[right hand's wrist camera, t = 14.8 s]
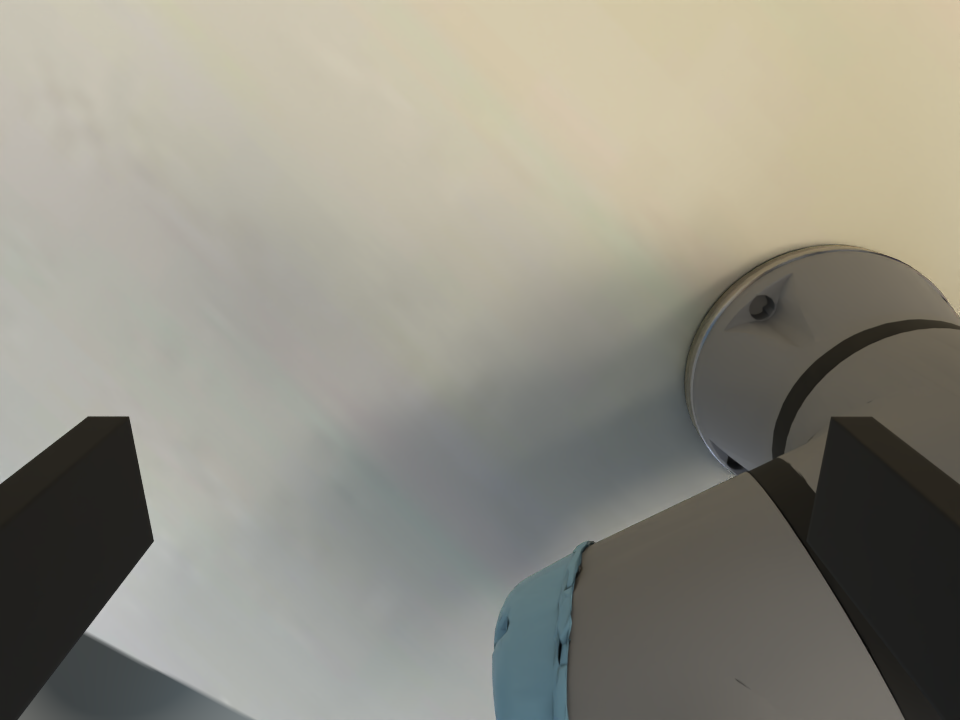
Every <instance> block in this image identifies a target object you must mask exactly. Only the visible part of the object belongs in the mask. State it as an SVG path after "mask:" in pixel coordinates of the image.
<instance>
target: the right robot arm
mask: <svg viewBox="0 0 960 720" xmlns="http://www.w3.org/2000/svg"><path fill="white" fill-rule="evenodd" d="M685 396H686V402H687V407H688V411H689V414H690V417H691V420H692V422H693V425H694V427H695V428H696V430H697V432H698V434H699V435H700V437H701V438H702V440H703V441H704V443H705V444H706V446H707V447H708V449H709V450H710V451H711V453H712V454H713V455H714V456H715V457H716V459H717V460H718V461H719V462H720V463H721V464H722V465H723V466H725V467H726V468H727V469H728V470H730V471H731V472H732V473H733V474H734V475H736V476H735V477H733V478H731V479H729V480H727V481H725V482H723V483H720V484H718V485H716V486H714V487H712V488H710V489H708V490H706V491H704V492H702V493H700V494H697V495H695V496H693V497H691V498H689V499H687V500H685V501H683V502H681V503H679V504H676V505H674V506H672V507H670V508H668V509H666V510H664V511H662V512H660V513H658V514H656V515H653V516H651V517H649V518H647V519H645V520H643V521H641V522H639V523H637V524H635V525H632V526H630V527H628V528H626V529H624V530H622V531H620V532H618V533H616V534H614V535H612V536H609V537H607V538H605V539H603V540H601V541H599V542H597V543H595V542H594V541H586V542H583V543H581V544H580V545H578V546H577V547H576V549H575V550H574V551H573V553H572V554H570V555H568V556H566V557H564V558H563V559H561V560H559V561H557V562H555V563H553V564H552V565H550V566H548V567H546V568H544V569H542V570H540V571H539V572H537V573H535V574H533V575H531V576H529V577H528V578H526V579H524V580H523V581H522V582H520V583H519V584H518V585H517V586H516V587H515V588H514V589H513V590H512V591H511V593H510V594H509V595H508V597H507V599H506V600H505V603H504V605H503V607H502V609H501V611H500V614H499V617H498V621H497V624H496V629H495V639H494V652H493V657H492V679H493V695H494V706H495V714H496V720H960V317H959V316H958V315H957V314H956V312H955V311H954V309H953V308H952V307H951V305H950V304H949V302H948V301H947V299H946V298H945V296H944V295H943V294H942V293H941V291H940V290H939V289H938V288H937V287H936V286H935V285H934V284H933V283H932V282H931V281H930V280H928V279H927V278H926V277H925V276H923V275H922V274H921V273H919V272H918V271H917V270H915V269H914V268H912V267H911V266H909V265H907V264H905V263H903V262H901V261H899V260H897V259H894V258H892V257H889V256H887V255H884V254H881V253H878V252H875V251H872V250H868V249H864V248H861V247H854V246H846V245H823V246H815V247H808V248H804V249H800V250H796V251H792V252H789V253H786V254H783V255H781V256H778V257H776V258H774V259H772V260H769V261H767V262H765V263H764V264H762V265H760V266H758V267H756V268H755V269H753V270H752V271H750V272H749V273H747V274H746V275H744V276H743V277H742V278H741V279H739V280H738V281H737V282H736V283H734V284H733V285H732V286H731V287H730V288H729V289H728V290H727V291H726V292H725V293H724V294H723V295H722V296H721V297H720V298H719V299H718V300H717V302H716V303H715V304H714V305H713V307H712V308H711V309H710V311H709V312H708V313H707V315H706V317H705V318H704V320H703V321H702V323H701V325H700V327H699V329H698V331H697V333H696V335H695V337H694V340H693V342H692V345H691V348H690V351H689V355H688V359H687V364H686V370H685ZM153 542H154V540H153V535H152V530H151V525H150V520H149V515H148V509H147V504H146V499H145V494H144V489H143V484H142V479H141V474H140V469H139V464H138V459H137V454H136V449H135V444H134V439H133V434H132V429H131V424H130V419H129V417H87V418H86V419H84V420H83V421H82V422H80V423H79V424H78V425H76V426H75V427H74V428H73V429H71V430H70V431H69V432H67V433H66V434H65V435H63V436H62V437H61V438H60V439H58V440H57V441H56V442H54V443H53V444H52V445H51V446H49V447H48V448H47V449H45V450H44V451H43V452H41V453H40V454H39V455H38V456H36V457H35V458H34V459H32V460H31V461H30V462H29V463H27V464H26V465H25V466H23V467H22V468H21V469H19V470H18V471H17V472H16V473H14V474H13V475H12V476H10V477H9V478H8V479H6V480H5V481H4V482H3V483H1V484H0V720H18V718H19V717H20V716H21V714H22V713H23V712H24V710H25V709H26V708H27V707H28V705H29V704H30V703H31V701H32V700H33V699H34V697H35V696H36V695H37V693H38V692H39V691H40V690H41V688H42V687H43V686H44V684H45V683H46V682H47V680H48V679H49V678H50V676H51V675H52V674H53V673H54V671H55V670H56V669H57V667H58V666H59V665H60V663H61V662H62V661H63V659H64V658H65V657H66V655H67V654H68V653H69V651H70V650H71V649H72V648H73V646H74V645H75V644H76V642H77V641H78V640H79V638H80V637H81V636H82V635H83V633H84V632H85V631H86V629H87V628H88V627H89V625H90V624H91V623H92V621H93V620H94V619H95V618H96V616H97V615H98V614H99V612H100V611H101V610H102V608H103V607H104V606H105V604H106V603H107V602H108V601H109V599H110V598H111V597H112V595H113V594H114V593H115V591H116V590H117V589H118V587H119V586H120V585H121V583H122V582H123V581H124V580H125V578H126V577H127V576H128V574H129V573H130V572H131V570H132V569H133V568H134V566H135V565H136V564H137V563H138V561H139V560H140V559H141V557H142V556H143V555H144V553H145V552H146V551H147V549H148V548H149V547H150V546H151V544H152V543H153Z"/></svg>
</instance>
